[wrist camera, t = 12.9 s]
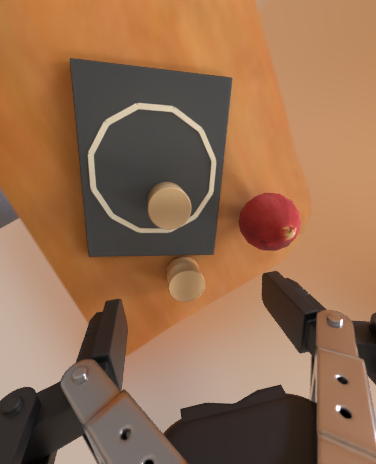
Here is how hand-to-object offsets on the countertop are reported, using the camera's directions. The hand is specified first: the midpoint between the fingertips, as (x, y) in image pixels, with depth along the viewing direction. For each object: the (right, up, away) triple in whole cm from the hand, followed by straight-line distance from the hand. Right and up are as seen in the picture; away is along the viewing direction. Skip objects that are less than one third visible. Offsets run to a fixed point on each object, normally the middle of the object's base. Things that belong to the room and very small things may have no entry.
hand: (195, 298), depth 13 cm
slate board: (-4, +10, +11) cm, 15 cm away
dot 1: (-3, +7, +11) cm, 13 cm away
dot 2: (-1, -1, +15) cm, 15 cm away
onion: (+7, +6, +14) cm, 17 cm away
